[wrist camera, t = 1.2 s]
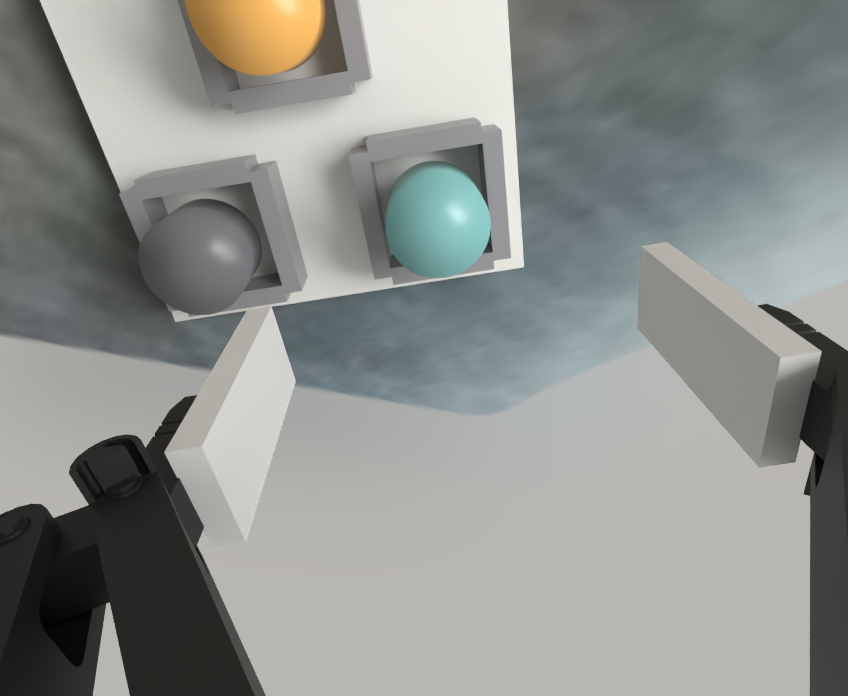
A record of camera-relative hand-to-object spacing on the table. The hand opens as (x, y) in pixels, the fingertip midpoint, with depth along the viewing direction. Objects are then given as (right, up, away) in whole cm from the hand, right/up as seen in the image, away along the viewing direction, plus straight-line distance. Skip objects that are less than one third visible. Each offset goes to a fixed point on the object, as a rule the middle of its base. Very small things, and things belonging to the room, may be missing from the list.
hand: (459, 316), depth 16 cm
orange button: (-8, +14, +7) cm, 18 cm away
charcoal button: (-12, +5, +12) cm, 18 cm away
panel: (-7, +12, +14) cm, 20 cm away
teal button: (-1, +6, +12) cm, 14 cm away
